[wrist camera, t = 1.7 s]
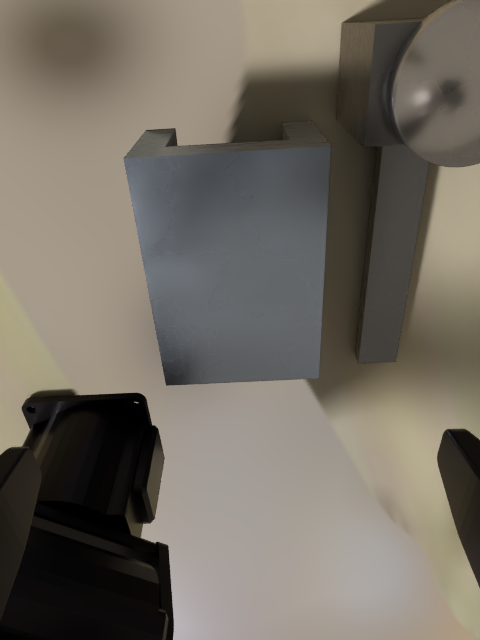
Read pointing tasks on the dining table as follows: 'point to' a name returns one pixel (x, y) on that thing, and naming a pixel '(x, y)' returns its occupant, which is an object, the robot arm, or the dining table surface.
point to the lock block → (234, 252)
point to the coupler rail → (406, 141)
